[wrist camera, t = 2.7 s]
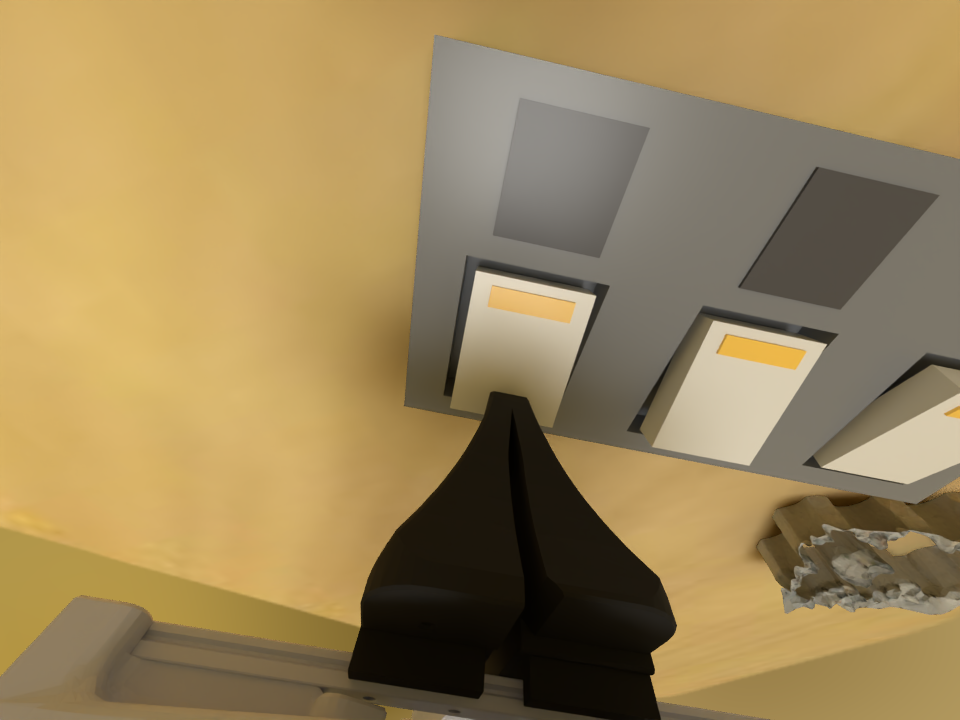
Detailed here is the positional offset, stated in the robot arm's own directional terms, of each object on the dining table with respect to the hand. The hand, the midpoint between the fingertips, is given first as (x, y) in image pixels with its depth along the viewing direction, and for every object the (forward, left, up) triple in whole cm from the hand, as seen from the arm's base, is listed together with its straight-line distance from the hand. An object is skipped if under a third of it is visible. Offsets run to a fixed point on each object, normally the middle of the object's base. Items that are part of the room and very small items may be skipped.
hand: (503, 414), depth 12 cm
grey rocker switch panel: (+4, -8, -4) cm, 10 cm away
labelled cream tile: (+2, 0, -1) cm, 2 cm away
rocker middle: (+2, -8, -1) cm, 8 cm away
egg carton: (-7, -24, -4) cm, 25 cm away
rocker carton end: (+2, -16, -1) cm, 16 cm away
